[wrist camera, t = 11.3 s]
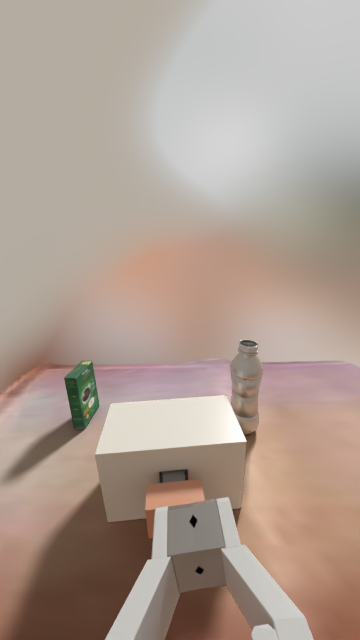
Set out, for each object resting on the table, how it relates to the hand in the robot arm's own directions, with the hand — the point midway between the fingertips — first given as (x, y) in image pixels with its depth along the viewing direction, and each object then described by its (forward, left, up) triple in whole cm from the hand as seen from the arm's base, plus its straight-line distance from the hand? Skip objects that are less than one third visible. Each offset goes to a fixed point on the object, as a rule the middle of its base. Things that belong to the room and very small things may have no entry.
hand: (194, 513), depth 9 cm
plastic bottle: (+18, -31, -28) cm, 46 cm away
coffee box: (+44, -6, -28) cm, 53 cm away
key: (+14, -9, -24) cm, 29 cm away
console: (+18, -12, -28) cm, 36 cm away
